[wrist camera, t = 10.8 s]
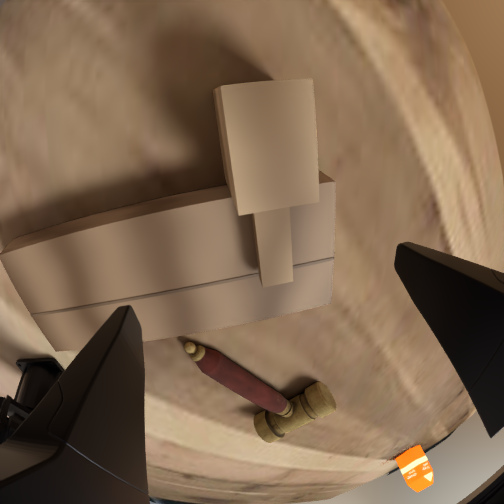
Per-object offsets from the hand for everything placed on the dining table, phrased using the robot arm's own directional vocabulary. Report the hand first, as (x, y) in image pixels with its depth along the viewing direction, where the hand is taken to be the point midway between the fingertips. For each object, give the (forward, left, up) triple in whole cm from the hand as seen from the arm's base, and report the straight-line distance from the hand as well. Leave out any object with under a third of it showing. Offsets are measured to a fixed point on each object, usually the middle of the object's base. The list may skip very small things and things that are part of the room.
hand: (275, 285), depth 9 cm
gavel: (-1, -22, -12) cm, 26 cm away
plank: (-6, -5, -12) cm, 14 cm away
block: (+2, 0, -12) cm, 12 cm away
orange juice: (+53, -113, -12) cm, 125 cm away
